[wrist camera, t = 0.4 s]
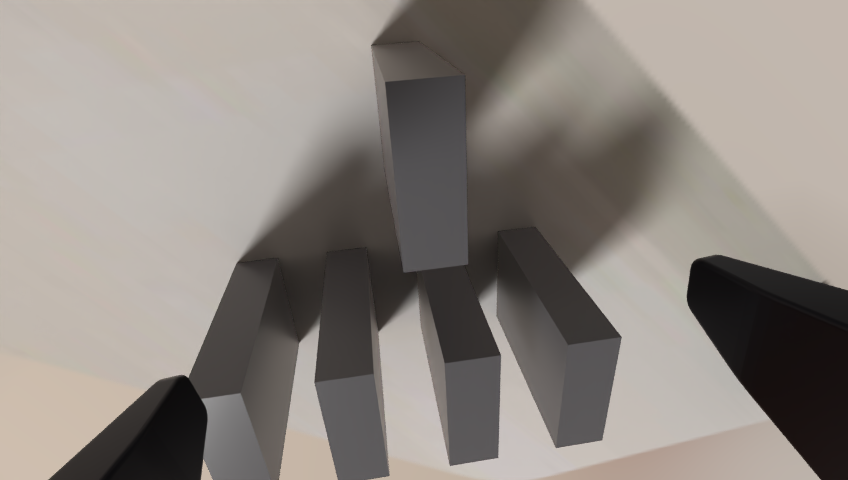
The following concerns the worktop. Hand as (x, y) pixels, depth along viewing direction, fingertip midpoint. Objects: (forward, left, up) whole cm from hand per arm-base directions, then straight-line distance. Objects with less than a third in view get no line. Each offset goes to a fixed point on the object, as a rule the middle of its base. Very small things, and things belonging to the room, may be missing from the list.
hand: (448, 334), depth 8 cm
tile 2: (-8, +5, -12) cm, 15 cm away
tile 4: (0, +8, -12) cm, 15 cm away
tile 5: (+4, +9, -12) cm, 16 cm away
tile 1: (0, -1, -12) cm, 12 cm away
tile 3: (-4, +7, -12) cm, 15 cm away
